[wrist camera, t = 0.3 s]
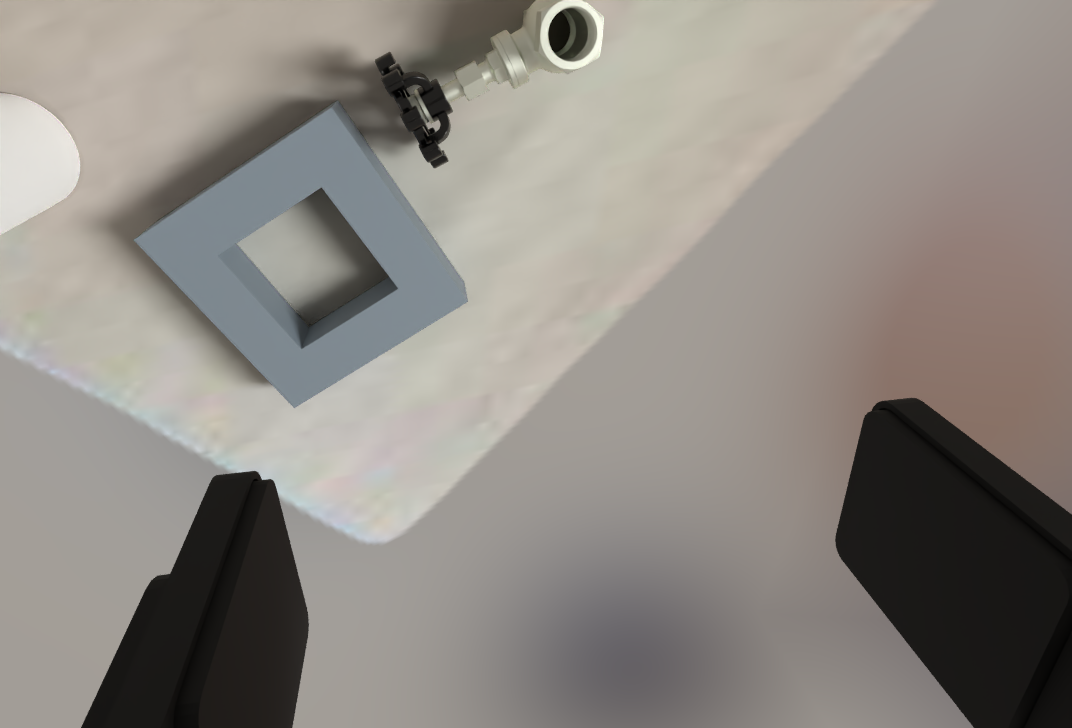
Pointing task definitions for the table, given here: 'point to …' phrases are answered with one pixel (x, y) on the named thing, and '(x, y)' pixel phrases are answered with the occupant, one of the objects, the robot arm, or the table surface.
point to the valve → (494, 69)
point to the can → (32, 161)
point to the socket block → (252, 301)
